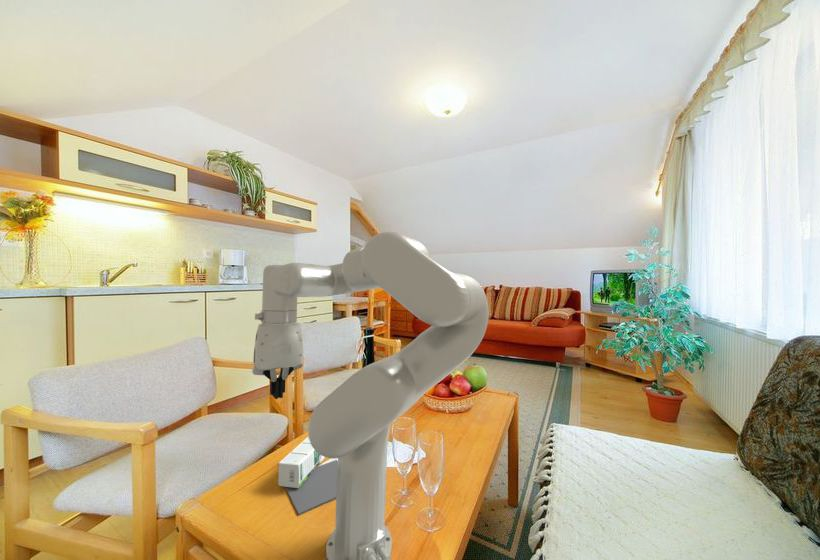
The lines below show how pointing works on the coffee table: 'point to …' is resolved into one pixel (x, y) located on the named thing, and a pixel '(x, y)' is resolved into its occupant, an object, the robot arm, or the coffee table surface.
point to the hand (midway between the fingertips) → (277, 396)
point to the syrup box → (298, 465)
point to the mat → (315, 488)
